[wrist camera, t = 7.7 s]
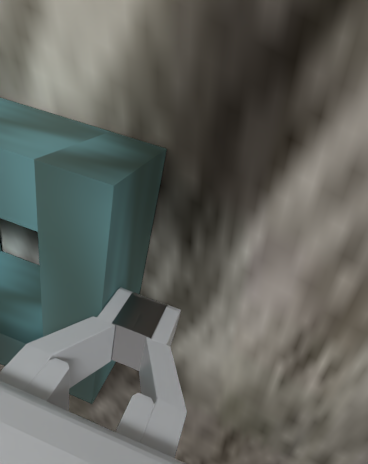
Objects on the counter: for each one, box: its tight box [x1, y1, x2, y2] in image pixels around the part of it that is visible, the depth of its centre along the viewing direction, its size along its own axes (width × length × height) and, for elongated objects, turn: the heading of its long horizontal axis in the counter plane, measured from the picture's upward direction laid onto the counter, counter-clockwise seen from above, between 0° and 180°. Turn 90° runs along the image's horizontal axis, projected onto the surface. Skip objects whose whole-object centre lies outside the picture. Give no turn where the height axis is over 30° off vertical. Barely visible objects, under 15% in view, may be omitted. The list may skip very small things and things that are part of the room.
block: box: [0, 98, 167, 404], centre depth 12 cm, size 10×10×4 cm
